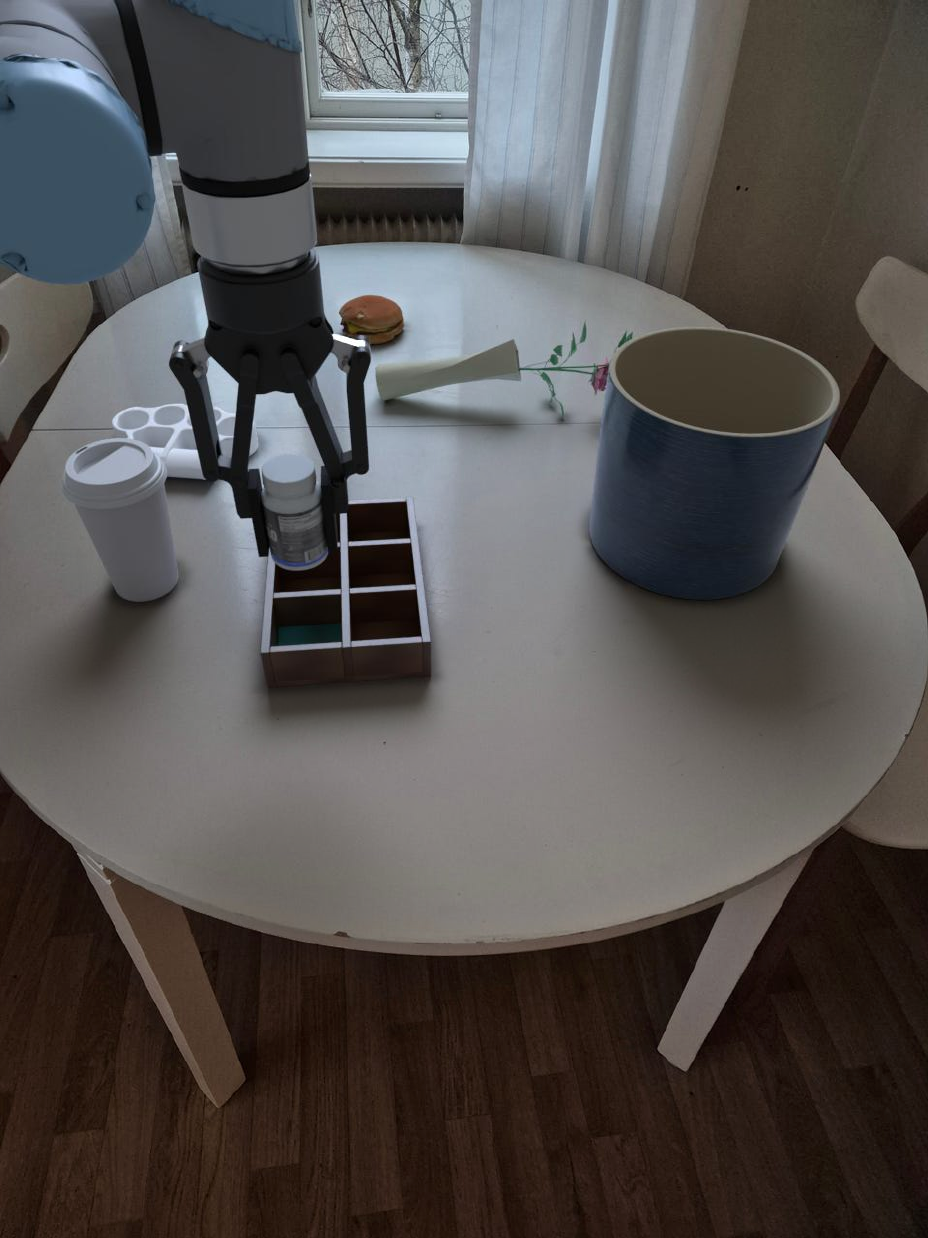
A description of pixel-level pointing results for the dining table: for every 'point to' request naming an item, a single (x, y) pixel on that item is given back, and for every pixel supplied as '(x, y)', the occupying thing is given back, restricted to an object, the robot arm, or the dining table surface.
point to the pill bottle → (293, 512)
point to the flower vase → (477, 370)
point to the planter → (705, 458)
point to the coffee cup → (125, 514)
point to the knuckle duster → (175, 435)
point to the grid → (351, 604)
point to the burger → (372, 318)
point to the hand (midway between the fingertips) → (298, 543)
